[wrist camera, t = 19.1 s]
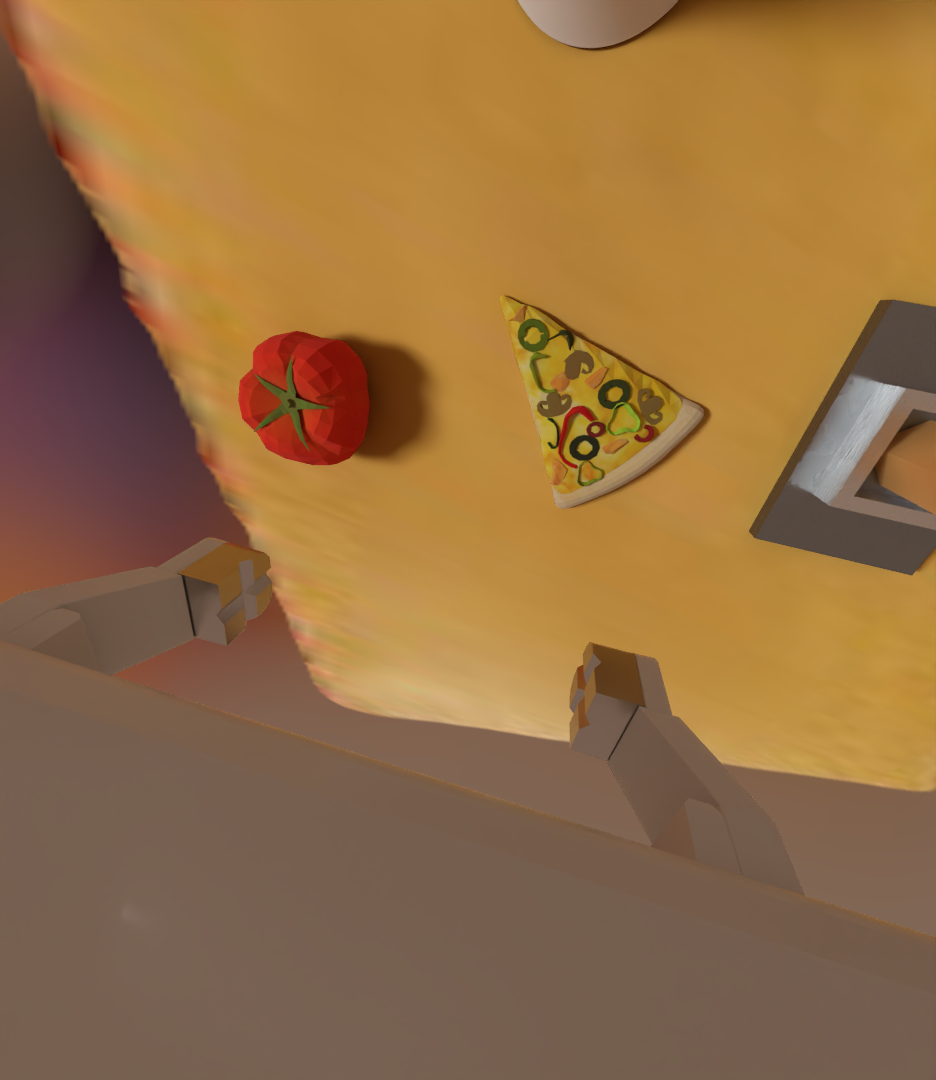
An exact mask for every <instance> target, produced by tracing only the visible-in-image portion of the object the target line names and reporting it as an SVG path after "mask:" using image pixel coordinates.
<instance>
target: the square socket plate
mask: <svg viewBox="0 0 936 1080" xmlns="http://www.w3.org/2000/svg"><path fill="white" fill-rule="evenodd" d="M929 420H932V421H936V307H931V306H926V305H920V304H914V303H909V302H903V301H897V300H880V301H879V303H878V305H877V307H876V308H875V310H874V312H873V314H872V315H871V317H870V319H869V321H868V322H867V324H866V326H865V328H864V329H863V331H862V333H861V335H860V337H859V338H858V340H857V342H856V344H855V345H854V347H853V349H852V351H851V352H850V354H849V356H848V358H847V359H846V361H845V363H844V365H843V366H842V368H841V370H840V372H839V373H838V375H837V377H836V379H835V381H834V382H833V384H832V386H831V388H830V389H829V391H828V393H827V395H826V396H825V398H824V400H823V402H822V403H821V405H820V407H819V409H818V410H817V412H816V414H815V416H814V417H813V419H812V421H811V423H810V425H809V426H808V428H807V430H806V432H805V433H804V435H803V437H802V439H801V440H800V442H799V444H798V446H797V447H796V449H795V451H794V453H793V454H792V456H791V458H790V460H789V461H788V463H787V465H786V467H785V468H784V470H783V472H782V474H781V476H780V477H779V479H778V481H777V483H776V484H775V486H774V488H773V490H772V491H771V493H770V495H769V497H768V498H767V500H766V502H765V504H764V505H763V507H762V509H761V511H760V512H759V514H758V516H757V518H756V520H755V521H754V523H753V525H752V527H751V528H750V530H749V532H750V533H751V534H752V535H753V537H754V538H757V539H761V540H765V541H769V542H774V543H778V544H782V545H786V546H790V547H795V548H799V549H803V550H807V551H811V552H816V553H820V554H824V555H828V556H832V557H837V558H841V559H845V560H849V561H854V562H858V563H862V564H866V565H870V566H875V567H879V568H883V569H887V570H891V571H896V572H900V573H904V574H908V575H913V574H914V572H915V571H916V570H917V569H918V568H919V566H920V565H921V564H922V563H923V562H924V560H925V559H926V558H927V557H928V556H929V554H930V553H931V552H932V551H933V550H934V548H935V547H936V515H935V514H933V513H931V512H929V511H927V510H926V509H924V508H922V507H920V506H918V505H916V504H914V503H913V502H911V501H909V500H907V499H905V498H903V497H901V496H899V495H898V494H896V493H894V492H892V491H890V490H888V489H886V488H884V487H883V486H881V485H880V483H879V479H878V476H877V472H876V468H875V464H876V463H877V461H878V460H879V458H880V457H881V456H882V454H883V453H884V451H885V450H886V448H887V447H888V445H889V444H890V442H891V441H892V439H893V438H894V436H895V435H896V433H899V432H901V431H904V430H906V429H909V428H911V427H914V426H916V425H919V424H921V423H924V422H926V421H929Z"/></svg>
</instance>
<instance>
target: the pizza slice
mask: <svg viewBox="0 0 936 1080" xmlns="http://www.w3.org/2000/svg"><path fill="white" fill-rule="evenodd" d="M500 304H501V307H502V310H503V313H504V316H505V320H506V323H507V327H508V331H509V335H510V339H511V342H512V346H513V349H514V353H515V356H516V361H517V365H518V367H519V370H520V372H521V375H522V377H523V380H524V384H525V387H526V391H527V395H528V399H529V402H530V406H531V410H532V414H533V418H534V422H535V425H536V429H537V433H538V437H539V440H540V444H541V447H542V451H543V457H544V462H545V466H546V469H547V472H548V476H549V479H550V481H551V483H550V484H551V485H552V489H553V495H554V500H555V504H556V505H557V507H559V508H561V509H564V508H571V507H573V506H576V505H579V504H582V503H584V502H587V501H589V500H592V499H594V498H597V497H599V496H602V495H604V494H606V493H609V492H611V491H613V490H615V489H617V488H619V487H621V486H623V485H625V484H626V483H628V482H630V481H631V480H633V479H635V478H636V477H638V476H640V475H641V474H643V473H645V472H646V471H647V470H648V469H650V468H651V467H652V466H654V465H655V464H656V463H658V462H659V461H660V460H662V459H663V458H664V457H665V456H666V455H667V454H668V453H669V452H670V451H671V450H672V449H674V448H675V447H676V446H677V445H678V444H679V443H680V442H681V441H682V440H683V439H684V438H685V437H686V436H687V435H688V434H689V433H690V432H691V431H692V430H693V429H694V428H695V427H696V426H697V425H698V424H699V423H700V421H701V420H702V418H703V416H704V409H703V408H701V407H700V406H699V405H698V404H696V403H694V402H693V401H690V400H688V399H686V398H684V397H682V396H681V395H679V394H677V393H675V392H674V391H672V390H670V389H668V388H667V387H665V386H664V385H663V384H662V383H660V382H659V381H657V380H655V379H653V378H651V377H649V376H646V375H644V374H642V373H641V372H639V371H637V370H635V369H634V368H632V367H630V366H628V365H627V364H625V363H623V362H622V361H620V360H618V359H617V358H615V357H613V356H611V355H610V354H608V353H606V352H605V351H603V350H601V349H599V348H598V347H596V346H594V345H592V344H591V343H589V342H587V341H585V340H583V339H581V338H580V337H578V336H576V335H574V334H573V333H571V332H569V331H567V330H566V329H564V328H562V327H561V326H559V325H558V324H557V323H555V322H554V321H553V320H552V319H550V318H549V317H548V316H546V315H545V314H543V313H542V312H540V311H538V310H537V309H535V308H533V307H531V306H528V305H524V304H520V303H518V302H517V301H515V300H513V299H511V298H509V297H506V296H503V295H501V298H500Z"/></svg>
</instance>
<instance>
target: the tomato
mask: <svg viewBox="0 0 936 1080" xmlns="http://www.w3.org/2000/svg"><path fill="white" fill-rule="evenodd" d="M238 401H239V405H240V410H241V414H242V419H243V420H244V421H245V422H246V423H247V424H248V425H249V426H250V427H251V428H252V429H254V430H255V431H256V432H257V434H258V435H259V437H260V438H261V440H262V442H263V443H264V445H265V447H266V448H267V449H268V450H270V451H272V452H274V453H276V454H278V455H279V456H281V457H283V458H286V459H290V460H294V461H298V462H302V463H306V464H311V465H332V464H337V463H339V462H342V461H344V460H346V459H349V458H350V457H351V456H352V455H353V454H354V453H355V451H356V450H357V449H358V447H359V446H360V445H361V444H362V442H363V440H364V436H365V433H366V429H367V426H368V419H369V409H370V400H369V394H368V389H367V372H366V370H365V367H364V365H363V363H362V360H361V358H360V357H359V356H358V355H357V354H356V353H355V352H354V351H353V350H352V349H351V348H350V347H349V346H348V345H347V344H346V342H345V341H341V340H334V339H327V338H321V337H318V336H314V335H311V334H308V333H305V332H299V331H295V332H290V333H285V334H280V335H276V336H273V337H270V338H268V339H267V340H266V341H264V342H263V343H261V344H260V345H258V346H257V347H256V349H255V350H254V352H253V369H252V370H251V371H249V372H248V373H247V374H246V375H245V376H244V377H243V378H242V379H241V380H240V386H239V398H238ZM255 431H254V432H255Z"/></svg>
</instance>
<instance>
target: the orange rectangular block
mask: <svg viewBox="0 0 936 1080" xmlns="http://www.w3.org/2000/svg"><path fill="white" fill-rule="evenodd" d="M875 468H876V472H877V476H878V479H879V483H880V485H881V486H883V487H884V488H886V489H888V490H890V491H892V492H894V493H896V494H898V495H899V496H901V497H903V498H905V499H907V500H909V501H911V502H913V503H914V504H916V505H918V506H920V507H922V508H924V509H926V510H927V511H929V512H931V513H933V514H935V515H936V421H932V420H929V421H926V422H924V423H921V424H919V425H916V426H914V427H911V428H909V429H906V430H904V431H901V432H899V433H896V435H895V436H894V438H893V439H892V441H891V442H890V444H889V445H888V447H887V448H886V450H885V451H884V453H883V454H882V456H881V457H880V458H879V460H878V461H877V463H876V464H875Z"/></svg>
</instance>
